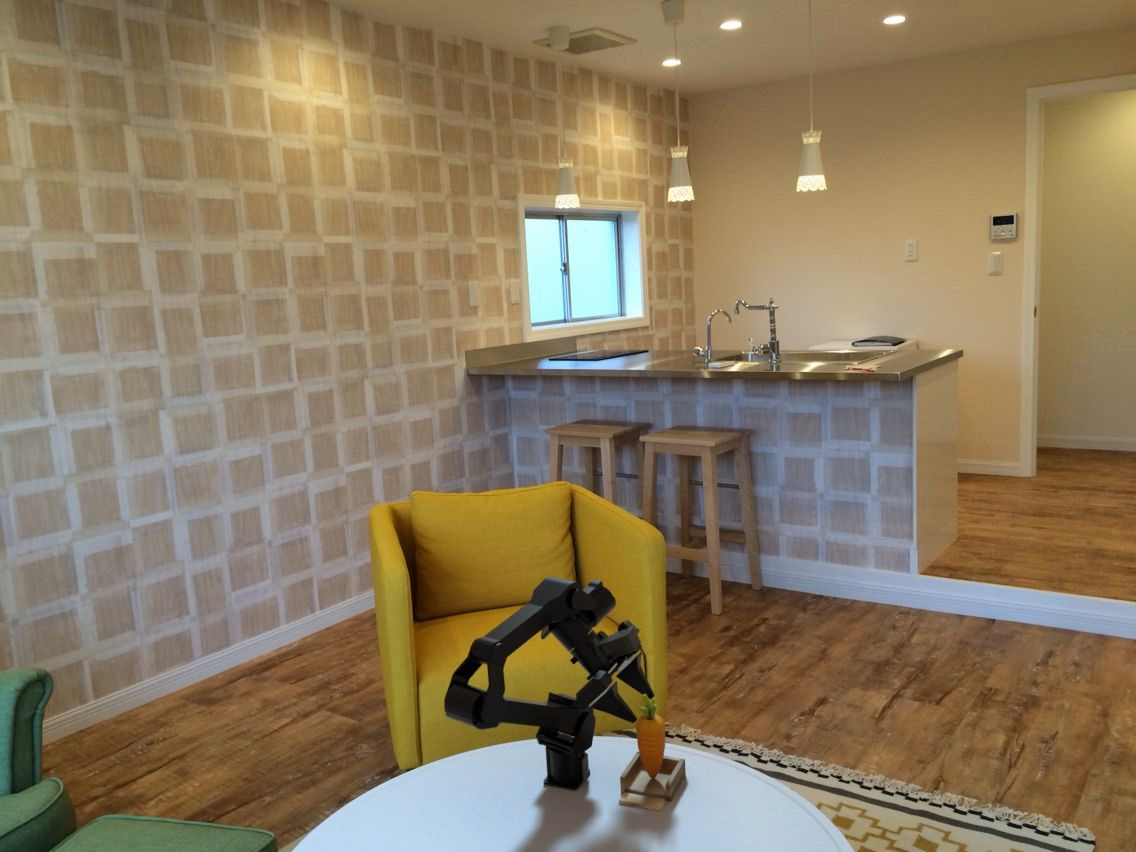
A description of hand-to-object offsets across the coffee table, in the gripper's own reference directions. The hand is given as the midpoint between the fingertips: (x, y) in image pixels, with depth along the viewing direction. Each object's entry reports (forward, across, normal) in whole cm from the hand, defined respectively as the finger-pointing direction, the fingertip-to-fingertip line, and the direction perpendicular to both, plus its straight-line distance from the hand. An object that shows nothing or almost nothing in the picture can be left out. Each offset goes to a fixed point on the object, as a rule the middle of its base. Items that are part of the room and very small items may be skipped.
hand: (644, 709), depth 158 cm
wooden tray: (+10, -1, +9) cm, 14 cm away
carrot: (+10, 0, +8) cm, 13 cm away
